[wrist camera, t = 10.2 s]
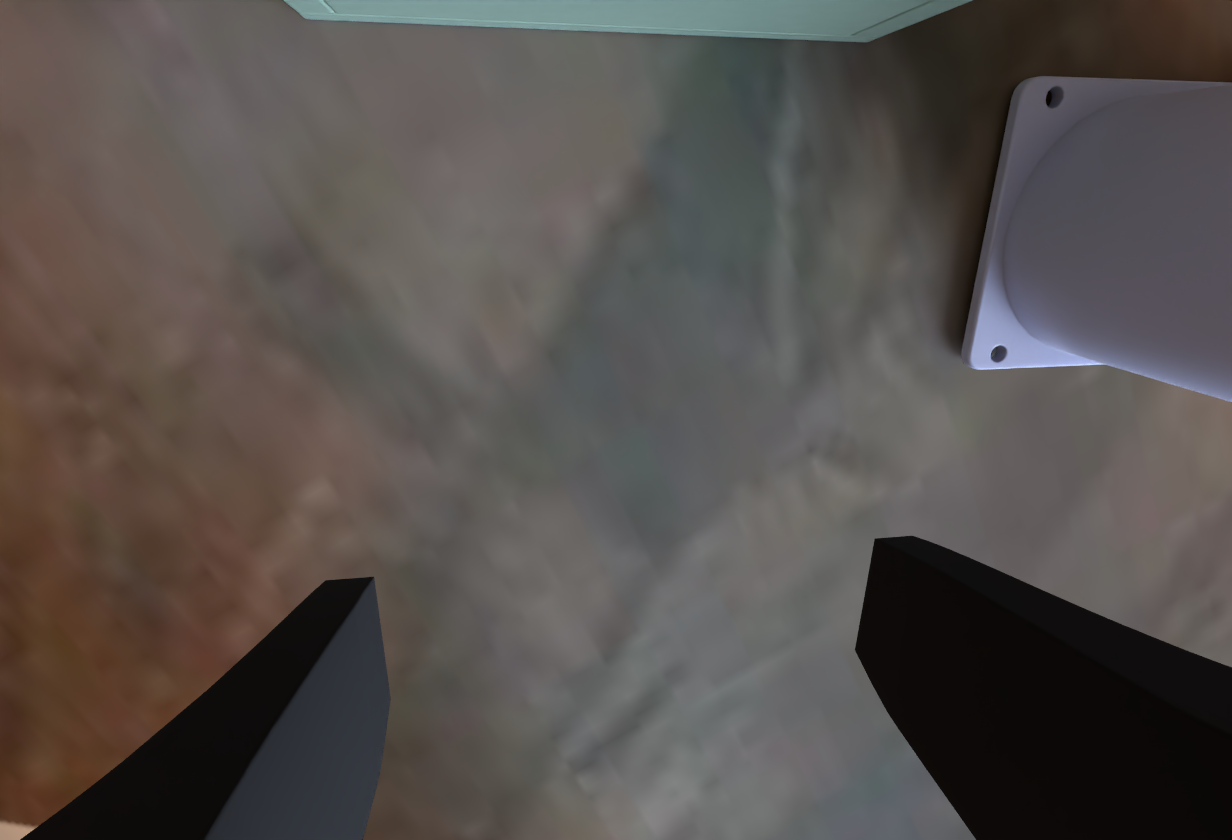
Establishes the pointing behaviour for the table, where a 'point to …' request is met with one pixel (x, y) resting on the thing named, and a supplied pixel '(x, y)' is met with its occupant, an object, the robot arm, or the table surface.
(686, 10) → the green open box
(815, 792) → the table surface
